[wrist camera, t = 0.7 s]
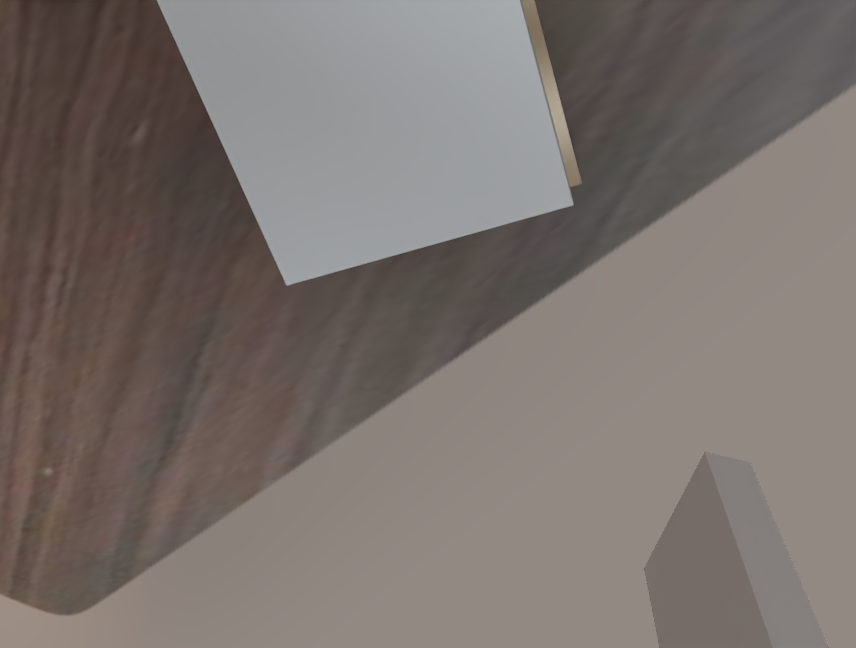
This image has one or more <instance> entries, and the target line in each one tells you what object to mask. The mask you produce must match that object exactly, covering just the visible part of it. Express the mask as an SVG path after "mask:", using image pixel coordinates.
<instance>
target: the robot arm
mask: <svg viewBox="0 0 856 648" xmlns="http://www.w3.org/2000/svg"><path fill="white" fill-rule="evenodd" d="M644 570H645V575H646V580H647V585H648V590H649V596H650V601H651V606H652V611H653V617H654V622H655V627H656V632H657V637H658V643H659V648H829V647H828V645H827V643H826V640H825V638H824V635H823V633H822V631H821V628H820V626H819V624H818V621H817V619H816V616H815V614H814V612H813V609H812V607H811V605H810V602H809V600H808V597H807V595H806V593H805V590H804V588H803V586H802V583H801V581H800V579H799V576H798V574H797V571H796V569H795V567H794V564H793V562H792V560H791V557H790V555H789V553H788V550H787V548H786V545H785V543H784V541H783V538H782V536H781V534H780V531H779V529H778V527H777V524H776V522H775V519H774V517H773V515H772V512H771V510H770V508H769V505H768V503H767V500H766V498H765V496H764V493H763V491H762V489H761V486H760V485H759V481H758V479H757V477H756V474H755V472H754V470H753V467H752V465H751V463H750V462H745V461H742V460H737V459H733V458H729V457H725V456H720V455H717V454H713V453H709V452H704V455H703V456H702V458H701V460H700V462H699V464H698V466H697V468H696V470H695V472H694V474H693V475H692V477H691V479H690V482H689V483H688V485H687V487H686V489H685V491H684V493H683V495H682V497H681V499H680V501H679V502H678V504H677V506H676V508H675V510H674V512H673V514H672V516H671V518H670V520H669V522H668V523H667V525H666V527H665V529H664V531H663V533H662V535H661V537H660V539H659V541H658V543H657V545H656V546H655V549H654V551H653V552H652V554H651V556H650V558H649V560H648V562H647V564H646V566H645V568H644Z"/></svg>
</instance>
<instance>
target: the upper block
mask: <svg viewBox="0 0 856 648" xmlns="http://www.w3.org/2000/svg"><path fill="white" fill-rule="evenodd" d="M157 2H158V4H159V6H160V9H161V11H162V13H163V15H164V17H165V20H166V22H167V24H168V26H169V28H170V31H171V33H172V35H173V37H174V39H175V42H176V44H177V46H178V48H179V50H180V53H181V55H182V57H183V59H184V61H185V64H186V66H187V68H188V70H189V72H190V75H191V77H192V79H193V81H194V83H195V86H196V88H197V90H198V92H199V94H200V96H201V99H202V101H203V103H204V105H205V107H206V110H207V112H208V114H209V116H210V118H211V121H212V123H213V125H214V127H215V129H216V132H217V134H218V136H219V138H220V140H221V143H222V145H223V147H224V149H225V151H226V154H227V156H228V158H229V160H230V162H231V165H232V167H233V169H234V171H235V173H236V176H237V178H238V180H239V182H240V184H241V187H242V189H243V191H244V193H245V195H246V198H247V200H248V202H249V204H250V206H251V209H252V211H253V213H254V215H255V217H256V220H257V222H258V224H259V226H260V228H261V230H262V233H263V235H264V237H265V239H266V241H267V244H268V246H269V248H270V250H271V252H272V255H273V257H274V259H275V261H276V263H277V266H278V268H279V270H280V272H281V274H282V277H283V279H284V281H285V283H286V285H290V284H294V283H298V282H301V281H305V280H308V279H312V278H315V277H319V276H323V275H326V274H330V273H333V272H337V271H340V270H344V269H348V268H351V267H355V266H358V265H362V264H365V263H369V262H373V261H376V260H380V259H383V258H387V257H390V256H394V255H398V254H401V253H405V252H408V251H412V250H415V249H419V248H423V247H426V246H430V245H433V244H437V243H440V242H444V241H448V240H451V239H455V238H458V237H462V236H465V235H469V234H473V233H476V232H480V231H483V230H487V229H490V228H494V227H498V226H501V225H505V224H508V223H512V222H515V221H519V220H523V219H526V218H530V217H533V216H537V215H540V214H544V213H548V212H551V211H555V210H558V209H562V208H565V207H569V206H573V200H572V195H571V190H570V185H569V180H568V175H567V171H566V167H565V163H564V159H563V156H562V152H561V148H560V144H559V140H558V137H557V133H556V129H555V125H554V121H553V117H552V114H551V110H550V106H549V102H548V98H547V94H546V91H545V87H544V83H543V79H542V75H541V72H540V68H539V64H538V60H537V56H536V52H535V49H534V45H533V41H532V37H531V33H530V30H529V26H528V22H527V18H526V14H525V10H524V7H523V3H522V0H157Z"/></svg>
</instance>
